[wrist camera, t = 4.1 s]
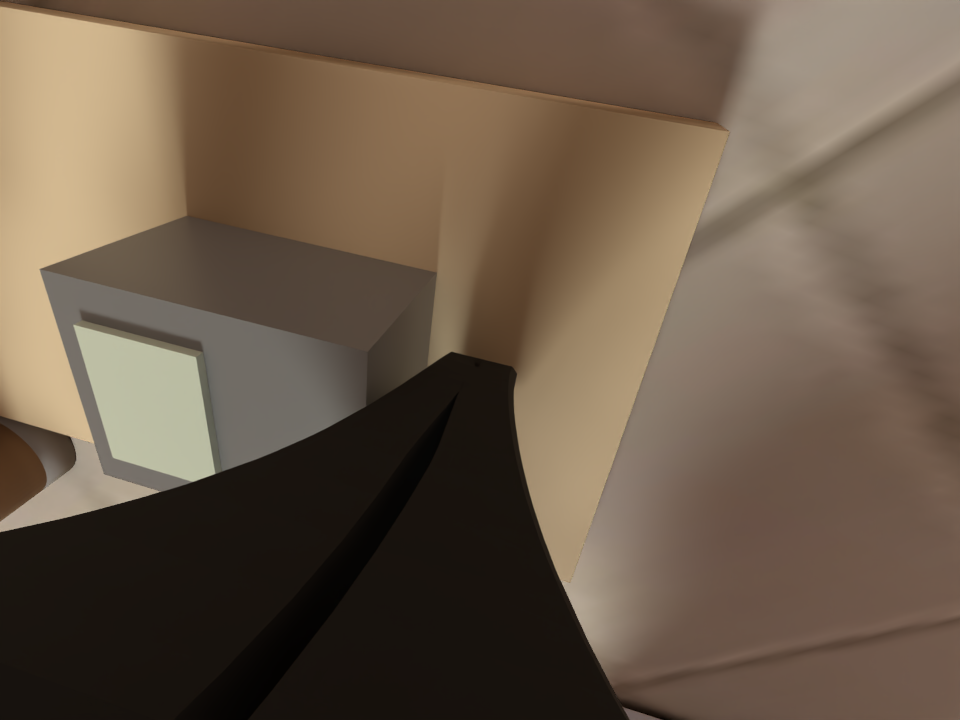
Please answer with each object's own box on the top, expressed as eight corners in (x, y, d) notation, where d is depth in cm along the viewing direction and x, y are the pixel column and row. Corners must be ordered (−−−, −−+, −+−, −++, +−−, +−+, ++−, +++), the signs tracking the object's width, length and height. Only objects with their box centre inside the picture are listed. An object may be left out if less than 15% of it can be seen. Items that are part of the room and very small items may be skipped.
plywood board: (717, 123, 8) (730, 131, 7) (574, 543, 14) (570, 582, 13) (-340, -58, 11) (-435, -69, 10) (-125, 345, 16) (-174, 365, 15)
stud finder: (437, 272, 9) (362, 357, 7) (419, 443, 12) (356, 559, 9) (186, 215, 10) (28, 272, 7) (212, 387, 12) (97, 479, 10)
